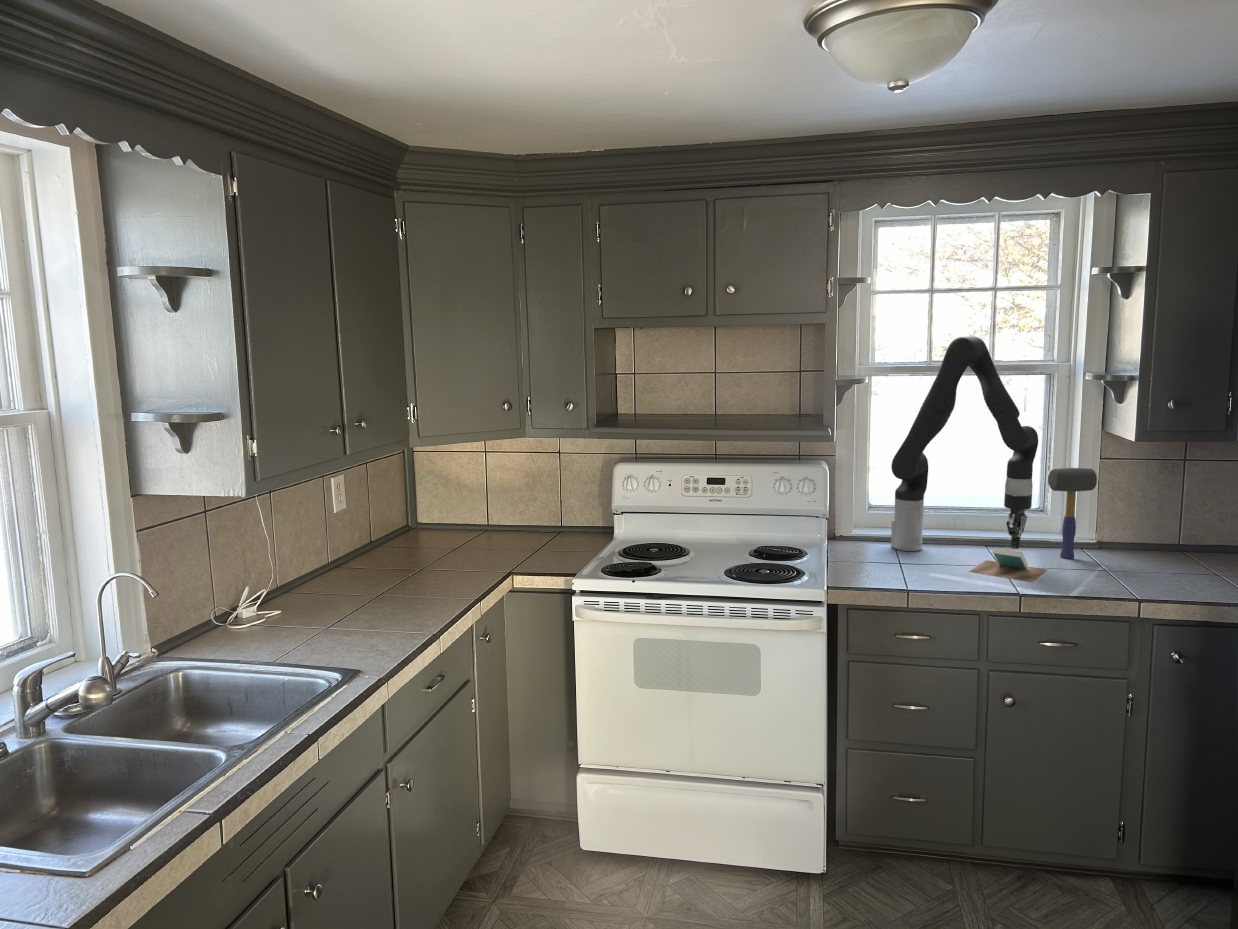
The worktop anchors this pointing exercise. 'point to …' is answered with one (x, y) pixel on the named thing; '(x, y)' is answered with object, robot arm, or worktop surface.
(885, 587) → the worktop surface
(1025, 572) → the board
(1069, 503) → the rubber mallet
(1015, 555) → the block
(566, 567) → the worktop surface
